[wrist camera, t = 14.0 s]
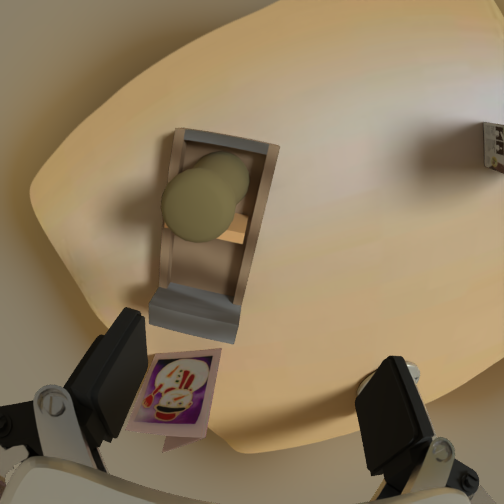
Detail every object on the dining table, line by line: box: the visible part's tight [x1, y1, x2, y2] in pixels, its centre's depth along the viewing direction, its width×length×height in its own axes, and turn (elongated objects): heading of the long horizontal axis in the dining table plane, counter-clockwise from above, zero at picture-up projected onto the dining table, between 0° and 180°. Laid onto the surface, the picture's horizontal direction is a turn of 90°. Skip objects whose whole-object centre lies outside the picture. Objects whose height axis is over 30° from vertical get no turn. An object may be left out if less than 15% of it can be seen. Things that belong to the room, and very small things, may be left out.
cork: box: [161, 151, 250, 243], centre depth 22 cm, size 6×6×11 cm
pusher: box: [164, 213, 248, 244], centre depth 26 cm, size 1×7×5 cm, turn 77°
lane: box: [149, 128, 280, 344], centre depth 27 cm, size 21×10×6 cm, turn 168°
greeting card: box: [125, 348, 222, 453], centre depth 33 cm, size 11×7×15 cm, turn 104°
